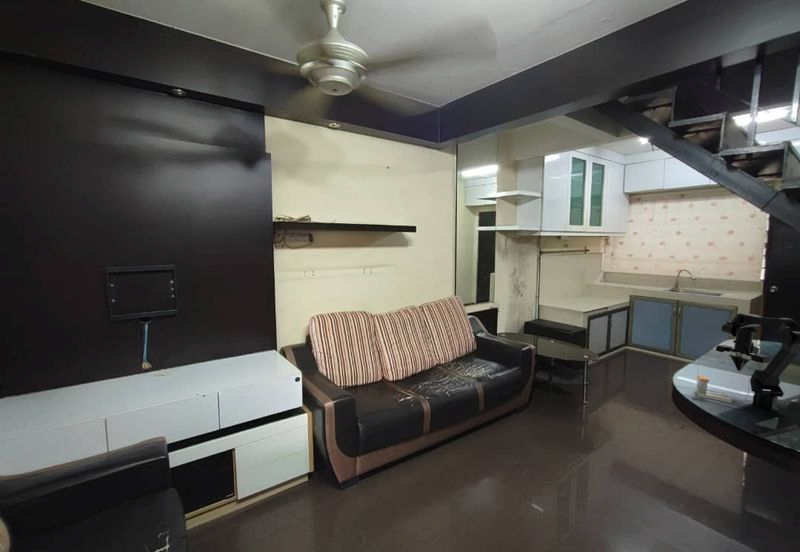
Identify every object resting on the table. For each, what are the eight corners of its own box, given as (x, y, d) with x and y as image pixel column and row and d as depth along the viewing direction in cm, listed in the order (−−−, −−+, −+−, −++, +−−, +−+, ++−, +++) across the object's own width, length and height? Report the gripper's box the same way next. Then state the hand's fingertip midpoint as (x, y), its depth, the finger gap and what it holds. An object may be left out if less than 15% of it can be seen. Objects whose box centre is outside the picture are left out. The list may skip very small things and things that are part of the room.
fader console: (726, 397, 163) (727, 394, 163) (731, 402, 158) (731, 399, 158) (695, 391, 169) (695, 388, 169) (698, 396, 164) (699, 393, 163)
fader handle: (704, 390, 167) (705, 376, 166) (707, 393, 162) (709, 380, 162) (695, 388, 168) (697, 375, 168) (698, 392, 164) (700, 378, 163)
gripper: (780, 344, 161) (775, 377, 162) (732, 333, 179) (728, 363, 180) (764, 345, 158) (759, 378, 159) (716, 334, 175) (712, 364, 177)
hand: (739, 370), depth 169 cm, fingers closed
